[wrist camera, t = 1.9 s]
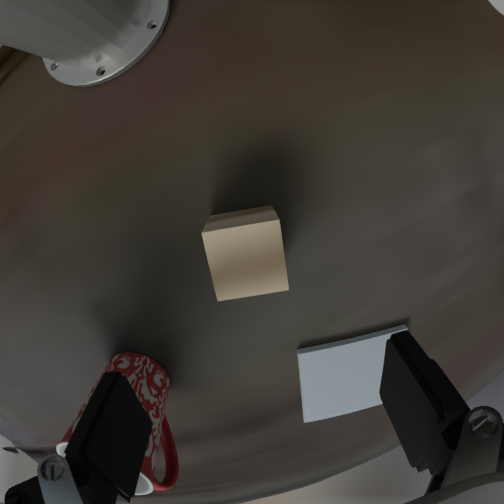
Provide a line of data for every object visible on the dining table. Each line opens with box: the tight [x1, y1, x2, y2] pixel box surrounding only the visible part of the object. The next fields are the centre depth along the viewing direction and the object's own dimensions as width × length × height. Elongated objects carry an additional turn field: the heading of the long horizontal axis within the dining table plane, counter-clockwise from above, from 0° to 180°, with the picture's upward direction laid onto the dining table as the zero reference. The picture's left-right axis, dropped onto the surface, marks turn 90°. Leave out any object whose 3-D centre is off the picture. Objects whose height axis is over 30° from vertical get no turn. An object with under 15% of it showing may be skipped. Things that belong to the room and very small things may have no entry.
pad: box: [297, 324, 408, 423], centre depth 29 cm, size 12×12×1 cm
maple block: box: [202, 205, 289, 301], centre depth 22 cm, size 5×5×5 cm
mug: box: [56, 352, 179, 495], centre depth 23 cm, size 13×9×14 cm
